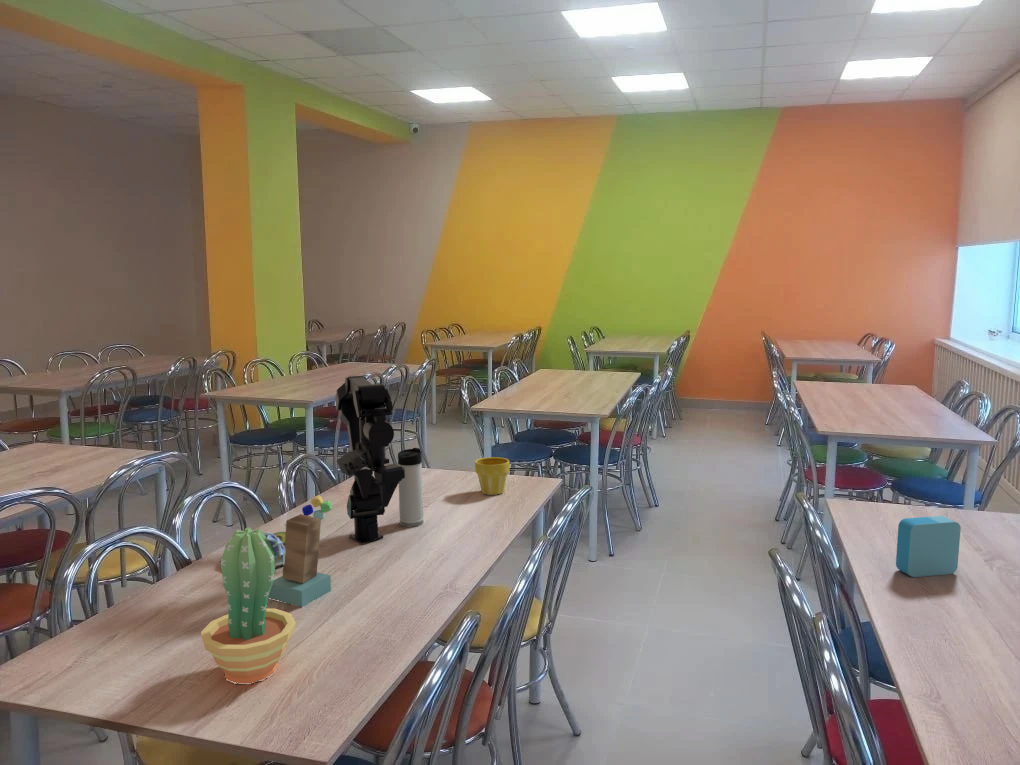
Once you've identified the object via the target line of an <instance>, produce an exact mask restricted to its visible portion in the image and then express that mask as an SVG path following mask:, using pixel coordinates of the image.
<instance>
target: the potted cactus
mask: <svg viewBox="0 0 1020 765" xmlns="http://www.w3.org/2000/svg"><path fill="white" fill-rule="evenodd" d="M278 555H279V556H281V559H282V566H283V565H284V564H285V555H286V553H285V546H284V545H283V543H282V542H281V540H280V539H279V538H278V537H276V535H274V533H272V532H270V531H267V532H263V531H262V530H261V529H260V528H257V529H254V530H252V528H251V527H250V526H249V527H246V528H245V529H244V531H243V530H241V529H236V530H235V532H234V533H233V534H232V536H231V538H230V539H229V540H228V542H227V543H226V545H225V547H224V550H223V552H222V557H221V559H220V570H221V577H222V585H223V587H224V590H225V592H226V596H227V599H228V605H227V608H228V611H227V614H225V615H223V616H220V617H218V618H216V619H213V620H211V621H210V622H209V623H208V624H207V625H206V626H205V627H204V628H203V629H202V631H200V635H201V638H202V642H203V645H204V650H205V651H207V652H209V653H210V654H211V656H212V658H213V660H214V662H215V664H216V665H217V667H218V668H220V669H221V671H223V674H224V673H225V676H224V678H225V677H226V679H228V680H230V681H233V682H236V683H237V682H238V683H252V682H256V681H259V680H262V679H265V678H266V677H268V676H270V675H271V674H273V673H274V672H275V671H276V669H277V668H278V666H279V664H278V662H279V660H280V659H281V658H282V656H283V654H284V653H285V652H286V650H287V646H288V643H289V639H291V637H292V635H293V633H295V631H296V630H295V629H296V623H297V622H296V621H295V618H294V617H293V615H292V613H290V612H287V611H284V610H282V609H281V610H280V609H277V608H269V607H268V601H269V598H268V595H269V593H270V590H271V587H272V585H273V582H274V580H275V573H276V567H275V558H276V557H277V556H278ZM267 607H268V608H267Z"/></svg>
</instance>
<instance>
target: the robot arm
mask: <svg viewBox="0 0 1020 765" xmlns="http://www.w3.org/2000/svg"><path fill="white" fill-rule="evenodd" d="M334 400H335V409H336V411H338V416H339V419H340V420H341V421H342V423H343V424H344V425H345V426H346V428H347V435H348V441H349V442H348V443H349V448H350V450H349V452H348V453H346V454H344V455H343V456H341V457H339V458H338V459H337V460H336V463H337V466H338V467H339V470H340V473H342V474H346V475H347V476H353V479H354V481H353V483H352V485H351V488H350V490H349V495H348V497H347V503H346V511H347V512H346V514H347V515H348V517H349V519H350V520H353V524H354V534H349V538H350V539H352V540H353V541H355V542H357V543H360V544H366V543H371V542H373V541H378V540H380V539H383V538H384V535H383V534H381V533H379V523H378V522H379V520H378V516H384V515H385V513H386V510H385V508H387V507H388V506H389V504H390V502H391V500H392V497H393V495H394V493H395V491H396V489H397V487H398V486H399V482H400V481H402V479H403V478H405V469H404V468H403V467H402V466H399V465H398V464H395V463H390V458H388V457H387V456H386V447H389V445H390V444H391V443H392V441H393V439H394V437H395V431H394V428H393V426H392V424H390V423H388V421H387V418H386V416H393V412H392V411H393V410H394V405H393V402H392V397H391V394H390V392H389V389H388V388H386V386H385V385H384V383H374V384H372V383H371V382H370V381H369V380H367V377H366V375H365V376H364V375H351V376H349V375H348V376H347V377H345V378H344V383H343V384H341V386H339V387H338V388H337V389H336V393H335V399H334Z"/></svg>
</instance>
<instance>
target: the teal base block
mask: <svg viewBox="0 0 1020 765" xmlns="http://www.w3.org/2000/svg"><path fill="white" fill-rule="evenodd" d="M282 577H283V575H281V576H279V577H277V578H274V582H273V585H272V587H271V590H270V593H269V595H268V599H269V598H271V599H275V600H279V601H282V602H286V603H289V604H293V605H297V606H296V607H298V606H301V607H300V608H302V607H303V606H304V607H306V606H308V605H309V604H311V603H313V602H314V601H313V600H315V599H316V600H318V599H319V597H320V598H321V597H323V596H325V595H326V593H327V594H328V593H329V592H331V591H332V586H331V585H332V584H331V583H332V582H331V581H332V580H331V575H330V574H329V573H328V574H327V573H322V572H318V571H317V576H315V577H313V578H311V579H310V580H308V581H306V582H305V583H299V582H295V581H292V580H288V579H285V578H282ZM324 594H325V595H324ZM317 598H318V599H317ZM316 600H315V601H316ZM312 601H313V602H312ZM310 602H311V603H310ZM308 603H309V604H308ZM289 604H288V605H289ZM307 604H308V605H307ZM293 605H292V606H293ZM305 605H306V606H305ZM304 607H303V608H304Z"/></svg>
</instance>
